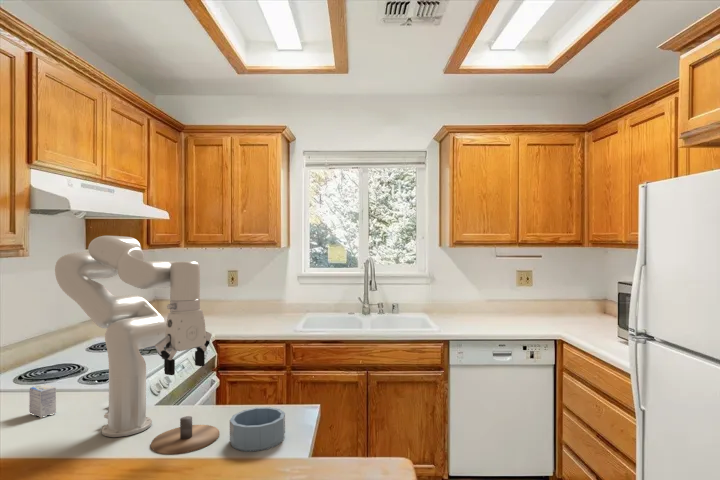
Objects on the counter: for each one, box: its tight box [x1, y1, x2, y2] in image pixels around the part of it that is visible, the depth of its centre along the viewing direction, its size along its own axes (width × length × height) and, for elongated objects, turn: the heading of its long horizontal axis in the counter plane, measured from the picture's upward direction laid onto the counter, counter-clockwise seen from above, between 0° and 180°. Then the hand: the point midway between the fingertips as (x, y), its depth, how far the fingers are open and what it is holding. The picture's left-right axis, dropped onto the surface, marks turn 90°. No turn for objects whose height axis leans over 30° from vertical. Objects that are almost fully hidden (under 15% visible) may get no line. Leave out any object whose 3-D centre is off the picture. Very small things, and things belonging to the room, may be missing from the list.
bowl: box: [229, 406, 286, 452], centre depth 111 cm, size 14×14×6 cm
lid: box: [150, 415, 220, 455], centre depth 112 cm, size 17×17×6 cm
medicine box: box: [28, 384, 57, 418], centre depth 134 cm, size 8×4×9 cm, turn 59°
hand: (185, 370), depth 112 cm, fingers open, 9 cm apart
